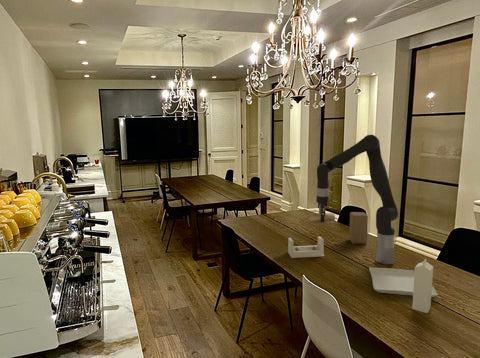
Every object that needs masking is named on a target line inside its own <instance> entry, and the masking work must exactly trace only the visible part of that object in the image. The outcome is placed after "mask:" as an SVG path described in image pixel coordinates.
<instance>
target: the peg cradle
mask: <svg viewBox="0 0 480 358" xmlns="http://www.w3.org/2000/svg"><path fill="white" fill-rule="evenodd" d="M287 240H288V241H287V242H288V243H287V245H288V246H287V247H288V248H287V249H288V251H287V253H288V256H290V258H291V259H296V258H316V257H325V254H324V246H325V242H324V241H325V240H324V238H323V237H322V236H317V244H315V245H297V246H296V245H295V246H294V240H293V238H291V237H288V239H287Z"/></svg>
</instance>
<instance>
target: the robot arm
mask: <svg viewBox="0 0 480 358" xmlns="http://www.w3.org/2000/svg"><path fill="white" fill-rule="evenodd" d="M365 152H366V155H367V158H368V168H369V169H368V170H369V175H370V182H371V184H372V187H373V188H374V191H376V193H377V194H378V196H379V197H380V199H381V200H380V201H381V204H382V206H379V207H378V208H377V210H376V213H375V226H376V227H375V228H376V231H377V232H376V234H377V235H376V249H375V250H376V254H375V255H376V257H375V261H376V262H377V263H379V264H381V265H394V260H395V248H394V247H395V228H393V227H392V222H393V221H395V220H397V219H398V216H399V211H398V208H397V204H396V201H395V200H394V197H393V192H392V189H391V185H390V180H389V177H388V175H389V174H388V172H387V169H386V166H385V163H384V161H383V158H382V153H381V143H380V138H378V137H377V136H376V135H375V134H367V135H366V136H364V137H363V138H361V139H360V140H359V141H358V142H357V143H355V144H354V145H351V147H349V148H347V149H345V150H344V151H342V152H340V153H337V154H336V155H335V156H332V157H331V158H330V159H328V160H326V161H324V162H322V163H320V164H319V165H318V166H317V168H316V178H317V183H316V198H315V199H316V200H315V201H316V203H318V213H321V215H320V216H321V223H322V224H323V223H324V217H325V213H326V210H327V206H326V204H328V203H329V200H330V199H329V197H330V190H329V188H330V187H329V185H330V184H329V183H330V181H329V172H332V171H333V170H335V169H339V168H340V167H342V166H343V165H345V164H347V163H348V162H350V161H351V160H352V159H354V158H356V157H357V156H359V155H361V154H363V153H365ZM322 213H324V215H322ZM321 223H320V224H321ZM324 224H325V223H324Z"/></svg>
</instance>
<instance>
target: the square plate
mask: <svg viewBox="0 0 480 358" xmlns="http://www.w3.org/2000/svg"><path fill="white" fill-rule="evenodd" d="M368 271H369V273H370V275H371V280H372V288H373V290H374V291H375V292H377V293H382V294H389V295H390V294H391V295H392V294H393V295H402V296H411V297H413V289H414V272H415V269H414V270H412V269H401V268H392V267H391V268H389V267H368ZM438 295H439V294H438V292H437V291H436V289H435V287H434V286H433V285H432V294H431V298H434V297H437V296H438Z"/></svg>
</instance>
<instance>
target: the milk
mask: <svg viewBox="0 0 480 358" xmlns="http://www.w3.org/2000/svg"><path fill="white" fill-rule="evenodd" d="M414 271H415V272H414V289H413V296H412V306H411V307H412V310H415V311H418V312H422V313H425V314H428V313H429V312H430V309H431V306H432V305H431V304H432V297H431V294H432V286H433V279H434V278H433V276H434V265H432V264H430V263H429V262H428V261H427V258H425V259H423V261H421V262H419V263H417V264H416V265H415V267H414Z"/></svg>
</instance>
